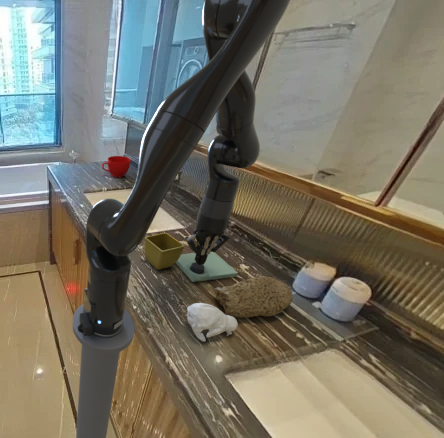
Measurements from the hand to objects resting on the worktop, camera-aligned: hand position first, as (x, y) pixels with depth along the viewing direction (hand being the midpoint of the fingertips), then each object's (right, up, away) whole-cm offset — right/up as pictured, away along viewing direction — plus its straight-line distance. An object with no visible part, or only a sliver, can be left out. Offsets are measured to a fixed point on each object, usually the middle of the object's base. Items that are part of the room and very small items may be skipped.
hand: (199, 263), depth 85 cm
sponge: (+10, -10, -7) cm, 16 cm away
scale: (+5, -2, +7) cm, 9 cm away
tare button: (0, -2, +1) cm, 3 cm away
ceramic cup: (-8, +38, +82) cm, 91 cm away
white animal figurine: (-5, -15, -15) cm, 22 cm away
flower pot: (-9, -2, +9) cm, 12 cm away
